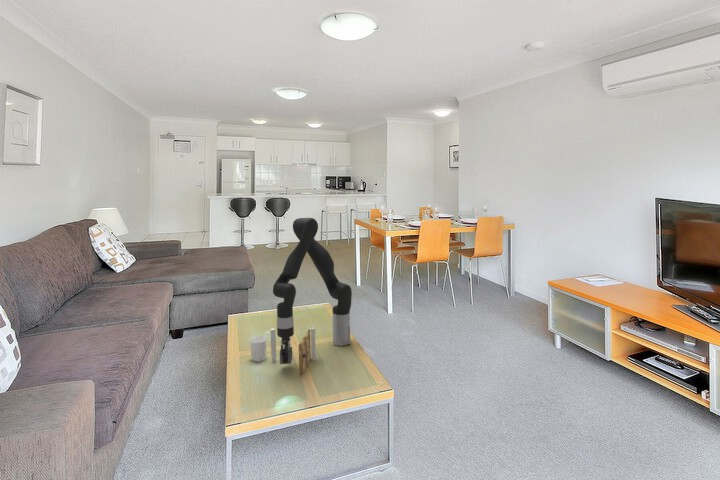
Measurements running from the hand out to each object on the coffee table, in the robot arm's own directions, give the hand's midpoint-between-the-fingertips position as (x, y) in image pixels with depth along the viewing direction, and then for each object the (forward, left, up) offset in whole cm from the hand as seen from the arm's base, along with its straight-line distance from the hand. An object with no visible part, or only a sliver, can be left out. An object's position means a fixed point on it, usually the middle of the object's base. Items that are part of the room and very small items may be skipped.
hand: (286, 360), depth 171 cm
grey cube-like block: (0, 0, -1) cm, 1 cm away
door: (-9, -1, -4) cm, 10 cm away
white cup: (+15, -12, -5) cm, 19 cm away
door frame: (-2, -9, -4) cm, 10 cm away
